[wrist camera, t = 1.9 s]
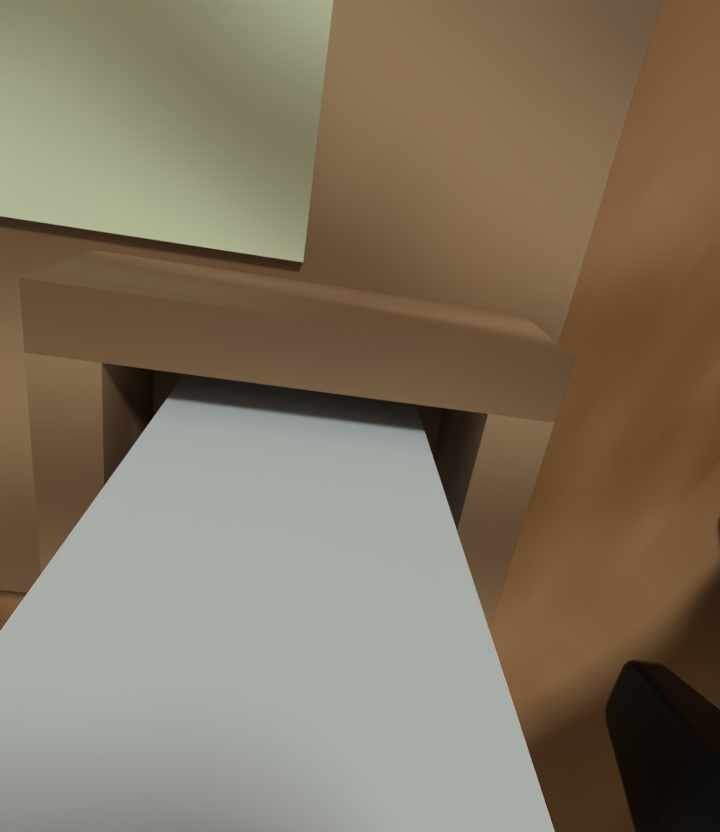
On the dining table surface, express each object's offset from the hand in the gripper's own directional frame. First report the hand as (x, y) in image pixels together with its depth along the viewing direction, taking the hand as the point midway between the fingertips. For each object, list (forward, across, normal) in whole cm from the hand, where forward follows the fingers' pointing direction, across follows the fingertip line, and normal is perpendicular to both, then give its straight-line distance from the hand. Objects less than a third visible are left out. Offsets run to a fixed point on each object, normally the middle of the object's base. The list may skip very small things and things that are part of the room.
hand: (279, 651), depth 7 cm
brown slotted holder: (+6, +1, -3) cm, 7 cm away
